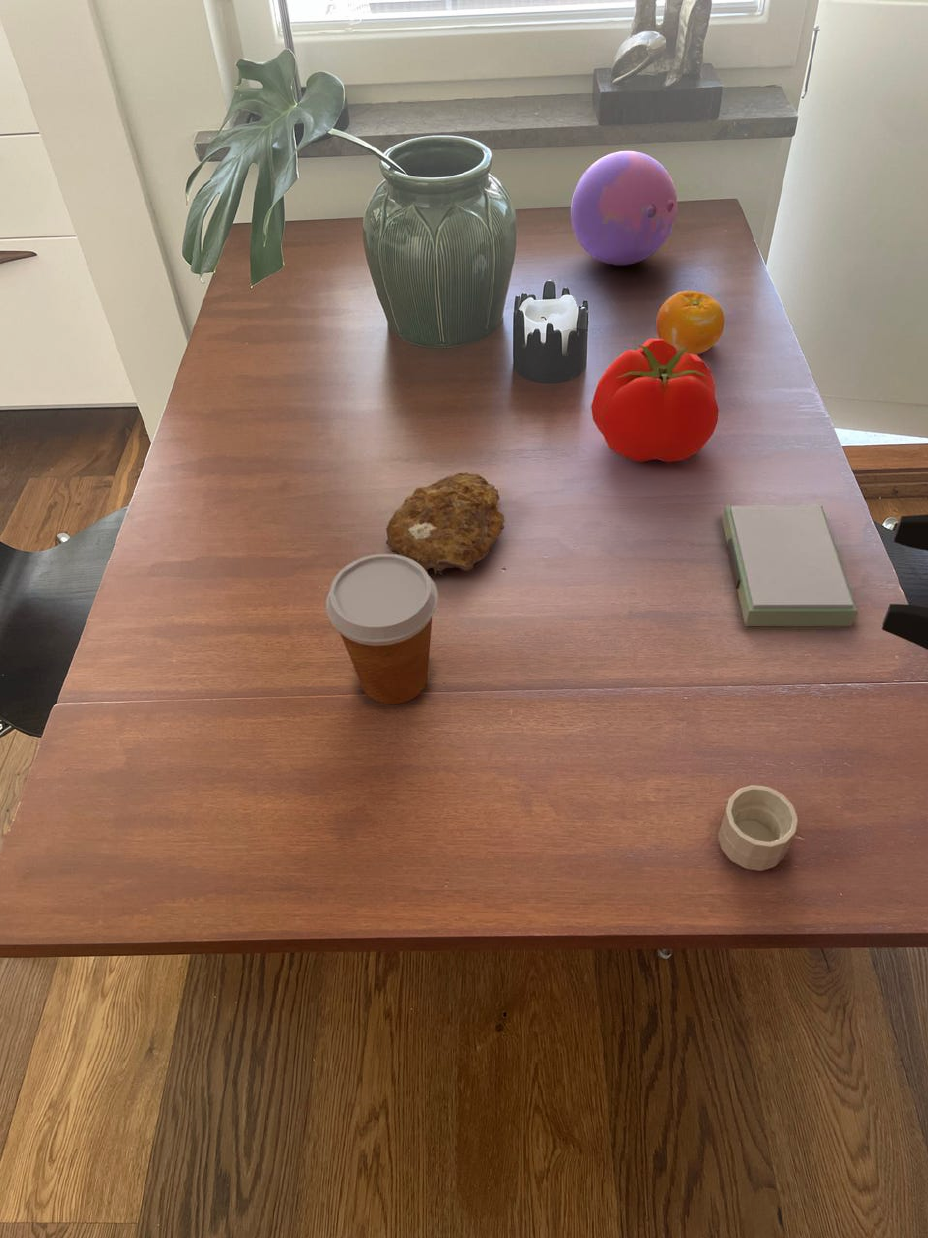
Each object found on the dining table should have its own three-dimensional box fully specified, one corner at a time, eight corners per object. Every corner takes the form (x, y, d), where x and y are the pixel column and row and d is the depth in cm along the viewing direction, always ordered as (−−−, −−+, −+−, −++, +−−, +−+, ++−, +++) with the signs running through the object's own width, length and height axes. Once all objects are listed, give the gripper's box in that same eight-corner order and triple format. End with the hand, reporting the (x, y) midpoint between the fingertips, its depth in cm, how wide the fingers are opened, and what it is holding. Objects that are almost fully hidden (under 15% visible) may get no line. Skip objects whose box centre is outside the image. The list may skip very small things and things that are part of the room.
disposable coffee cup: (325, 700, 85) (302, 612, 76) (373, 628, 90) (357, 538, 82) (417, 732, 82) (405, 645, 73) (461, 656, 88) (455, 566, 79)
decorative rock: (429, 482, 106) (374, 573, 97) (424, 454, 103) (367, 545, 94) (523, 498, 102) (475, 594, 93) (521, 469, 99) (471, 566, 90)
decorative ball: (621, 295, 131) (630, 188, 120) (548, 259, 139) (550, 155, 128) (691, 259, 137) (706, 154, 126) (617, 226, 145) (625, 124, 134)
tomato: (715, 483, 103) (733, 394, 94) (587, 479, 104) (593, 390, 95) (708, 413, 111) (724, 325, 103) (589, 409, 113) (595, 322, 104)
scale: (851, 626, 88) (858, 607, 86) (742, 626, 89) (747, 608, 87) (817, 520, 98) (823, 502, 96) (719, 521, 99) (723, 502, 97)
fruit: (689, 352, 114) (700, 284, 112) (638, 350, 120) (648, 285, 119) (731, 360, 119) (742, 295, 117) (679, 357, 126) (689, 296, 124)
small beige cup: (790, 826, 74) (802, 797, 71) (778, 883, 71) (790, 856, 68) (725, 805, 76) (734, 776, 72) (710, 860, 72) (720, 833, 69)
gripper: (1153, 483, 57) (917, 451, 61) (1164, 674, 50) (895, 623, 54) (1105, 554, 63) (892, 521, 67) (1109, 736, 56) (869, 686, 60)
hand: (891, 571), depth 61 cm, fingers open, 7 cm apart
